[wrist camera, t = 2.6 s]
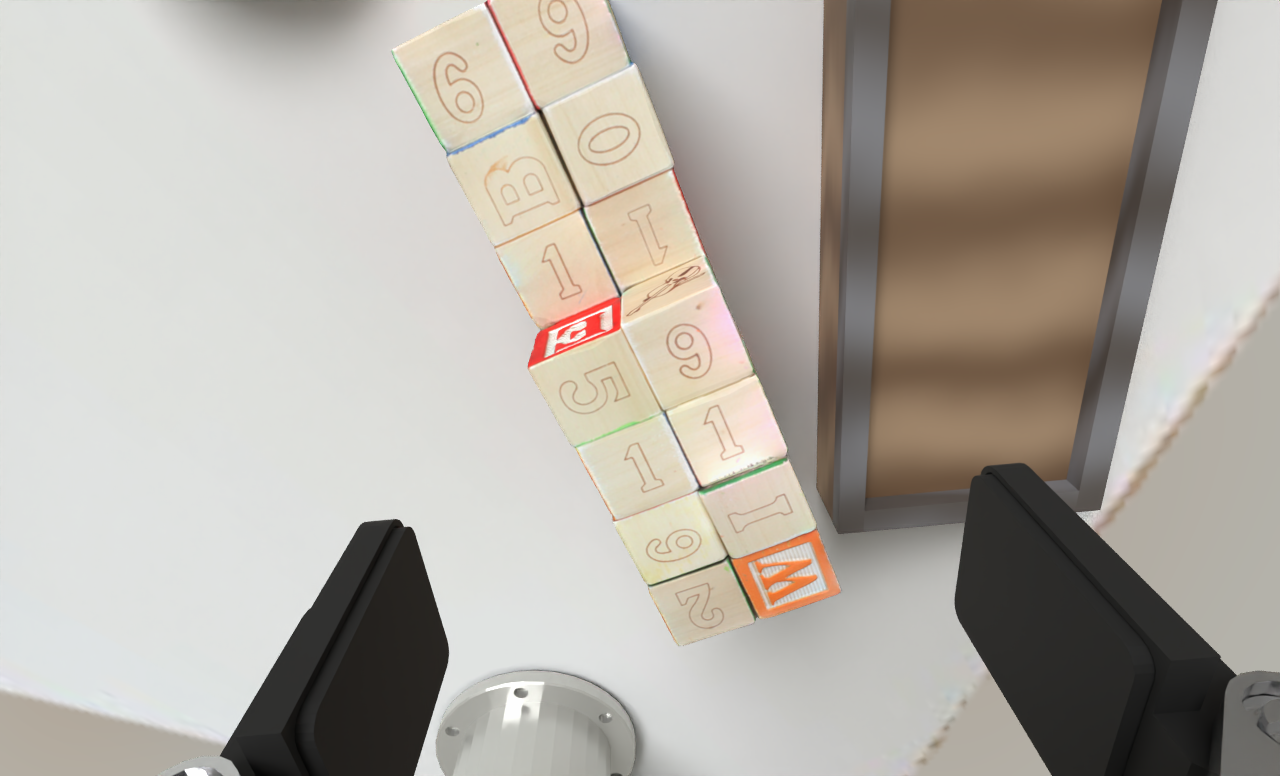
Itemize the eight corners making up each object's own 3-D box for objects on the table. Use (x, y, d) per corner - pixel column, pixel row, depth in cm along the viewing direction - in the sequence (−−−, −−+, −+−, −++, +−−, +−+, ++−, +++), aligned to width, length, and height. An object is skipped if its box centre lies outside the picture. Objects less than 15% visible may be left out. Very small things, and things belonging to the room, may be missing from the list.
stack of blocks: (461, 56, 27) (342, 36, 16) (603, -14, 26) (586, -88, 15) (661, 473, 35) (678, 655, 24) (774, 431, 34) (846, 600, 23)
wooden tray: (1051, 465, 35) (1100, 510, 32) (816, 487, 35) (838, 533, 32) (1173, -190, 24) (1273, -239, 20) (826, -150, 24) (861, -191, 20)
